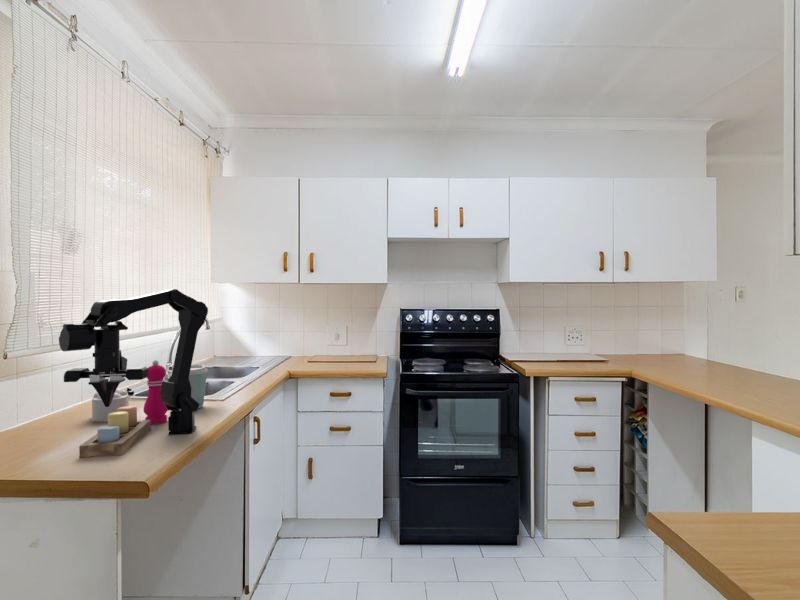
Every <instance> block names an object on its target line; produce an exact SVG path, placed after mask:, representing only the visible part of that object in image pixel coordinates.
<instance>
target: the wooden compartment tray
mask: <svg viewBox="0 0 800 600" xmlns="http://www.w3.org/2000/svg"><path fill="white" fill-rule="evenodd" d="M151 430H152V425H151V420H145V419H137V425H134V426H130V427H129V431H127V432H125V433H120V434H119V440H118V441H117V442H100V443H98V435H97V433H96V434H94V435H93V436H91V437H90V438H89V439H87V440H86V441H84V442H82V443H81V444H80V445H79V446H78V447H79V451H78V453H79V454H78V455H79V458H80V457H81V458H91V457H90V456H98V457H107V456H106V455H114V456H123V455H124V454H125V453H127V451H128V450H130V449H131V448H132V447H134V445H136V443H138V442H139V441H140V440H141V439H142V438H143V437H144V436H145V435H147V434H146V433H147V432H148V431H149V432H150V431H151ZM149 432H148V433H149ZM137 441H138V442H137ZM122 454H123V455H122Z"/></svg>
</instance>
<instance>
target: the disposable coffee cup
mask: <svg viewBox="0 0 800 600" xmlns="http://www.w3.org/2000/svg"><path fill="white" fill-rule="evenodd" d="M208 371H209V370H208V367H207V365H205V364H191V369H190V374H189V381H190V384H191V388H192V390H191V397H192V398H193V399H194V400H195V401H196V402H198V403H199V407H198V409H200V408H202V407H203V405H204V402H205V394H206V385H207V376H208Z"/></svg>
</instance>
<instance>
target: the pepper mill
mask: <svg viewBox="0 0 800 600" xmlns="http://www.w3.org/2000/svg"><path fill="white" fill-rule="evenodd" d="M159 362H160V361H158V360H153V361H152V365H150V366H148V367H147V368H148V377H146V378H145V379H147V381H146V385H147V386H148V394H147V397H146V400H145V402H144V405H143V413H144V414H145V416H146V417H145V419H144V420H151V424H152V425H159V424H160V425H162V424H163V423H164V424H165V423H166V422H168V416H167V414H166V413H167V412H168V411H169V410H167V408H166V405H165V404H163V402H162V401H161V395H159V394H160V392H161V389H162V382H163V381H165V379H164V378H165V377H166V375H167V370H166V368H165V367H164V366H163V365H160V363H159Z"/></svg>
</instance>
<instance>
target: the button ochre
mask: <svg viewBox="0 0 800 600" xmlns="http://www.w3.org/2000/svg"><path fill="white" fill-rule="evenodd" d="M107 426H119V434H120V433H125V432H127V431H129V421H128V412H114V413H110V414H108V421H107Z"/></svg>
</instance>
